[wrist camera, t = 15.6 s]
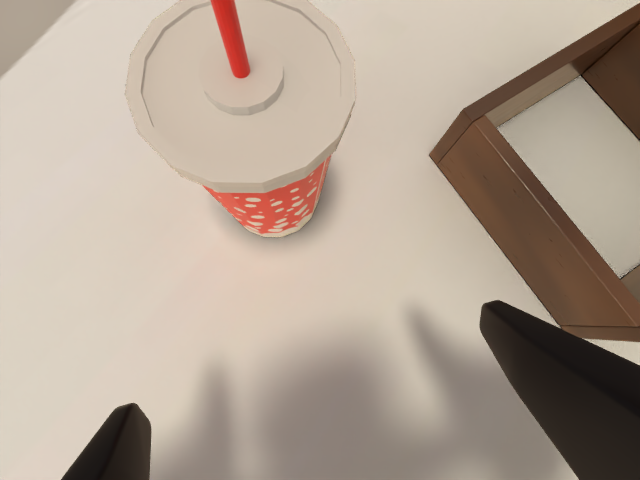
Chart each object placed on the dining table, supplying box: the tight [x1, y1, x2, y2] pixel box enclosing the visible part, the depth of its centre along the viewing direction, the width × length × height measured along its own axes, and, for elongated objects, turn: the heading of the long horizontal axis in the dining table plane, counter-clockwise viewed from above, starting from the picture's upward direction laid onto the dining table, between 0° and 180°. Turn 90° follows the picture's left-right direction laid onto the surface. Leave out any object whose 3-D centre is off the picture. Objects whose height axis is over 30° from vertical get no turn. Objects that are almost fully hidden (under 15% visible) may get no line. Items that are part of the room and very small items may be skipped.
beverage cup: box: [125, 0, 356, 237], centre depth 11 cm, size 6×6×14 cm
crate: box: [429, 3, 640, 342], centre depth 17 cm, size 11×11×4 cm
